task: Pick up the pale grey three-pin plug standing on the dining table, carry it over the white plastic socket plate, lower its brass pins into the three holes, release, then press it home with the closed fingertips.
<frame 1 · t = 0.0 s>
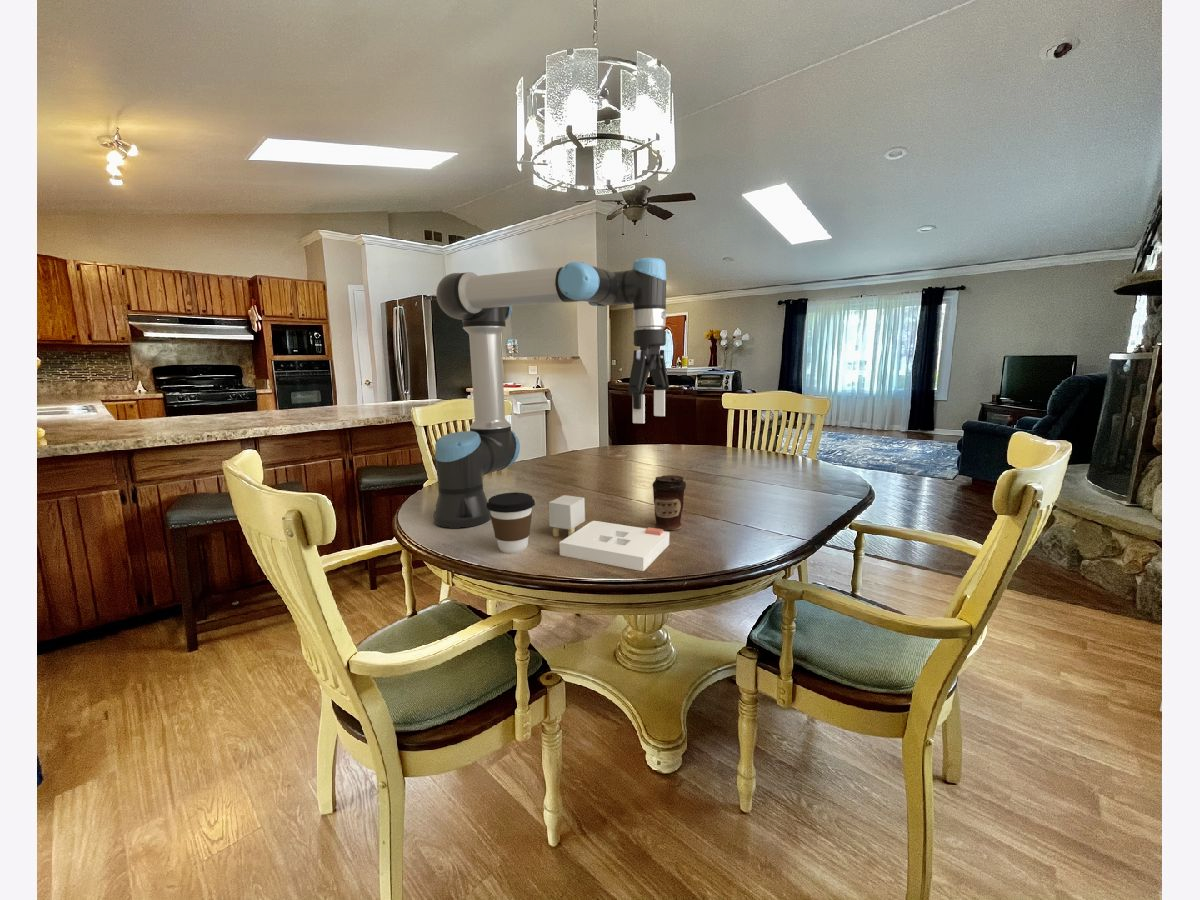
hand: (649, 419, 120), 28 cm above the table, fingers open, 13 cm apart
plug: (567, 534, 124), on the table
socket plate: (615, 549, 113), on the table
coffee cup: (668, 527, 127), on the table
coffee cup 2: (513, 549, 115), on the table
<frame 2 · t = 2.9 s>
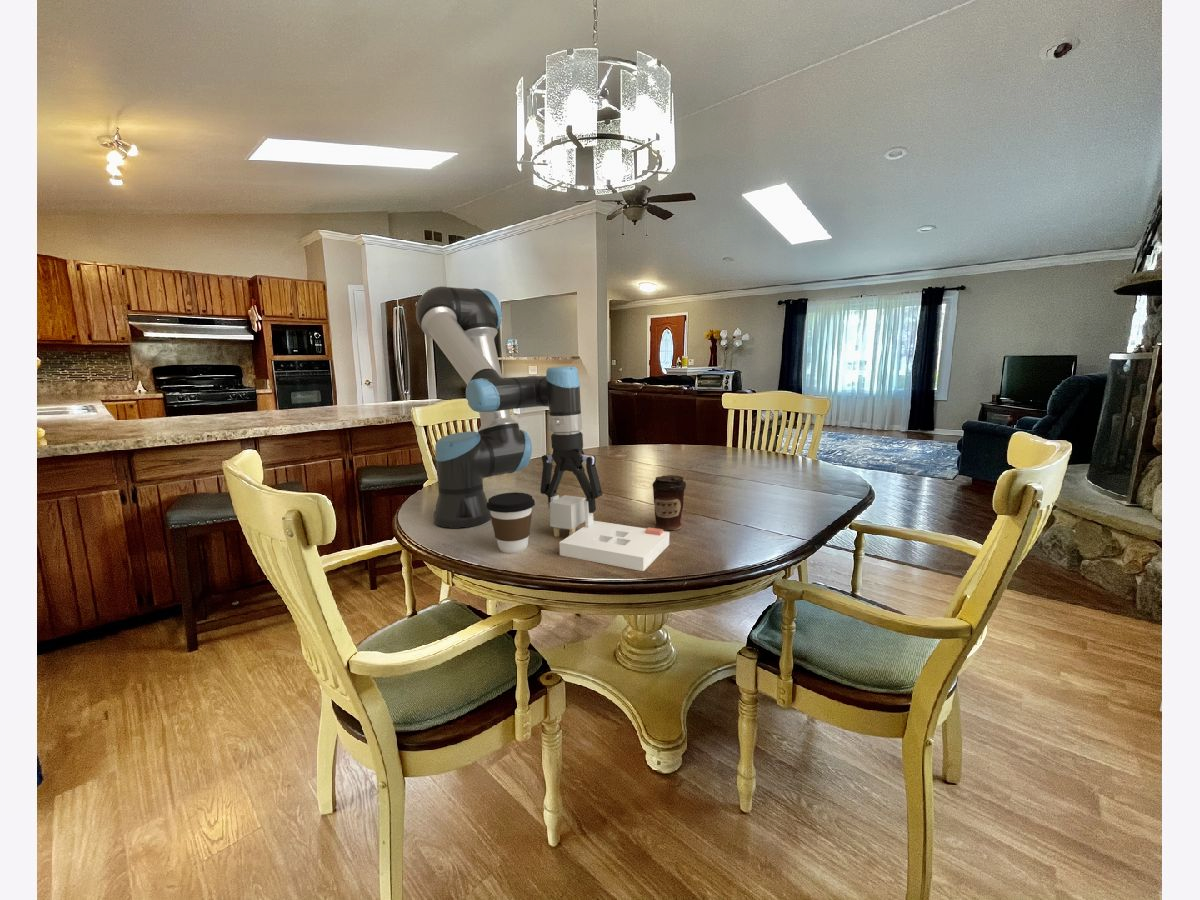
hand: (572, 523, 122), 3 cm above the table, fingers open, 9 cm apart
plug: (568, 534, 124), on the table
everything else where it was.
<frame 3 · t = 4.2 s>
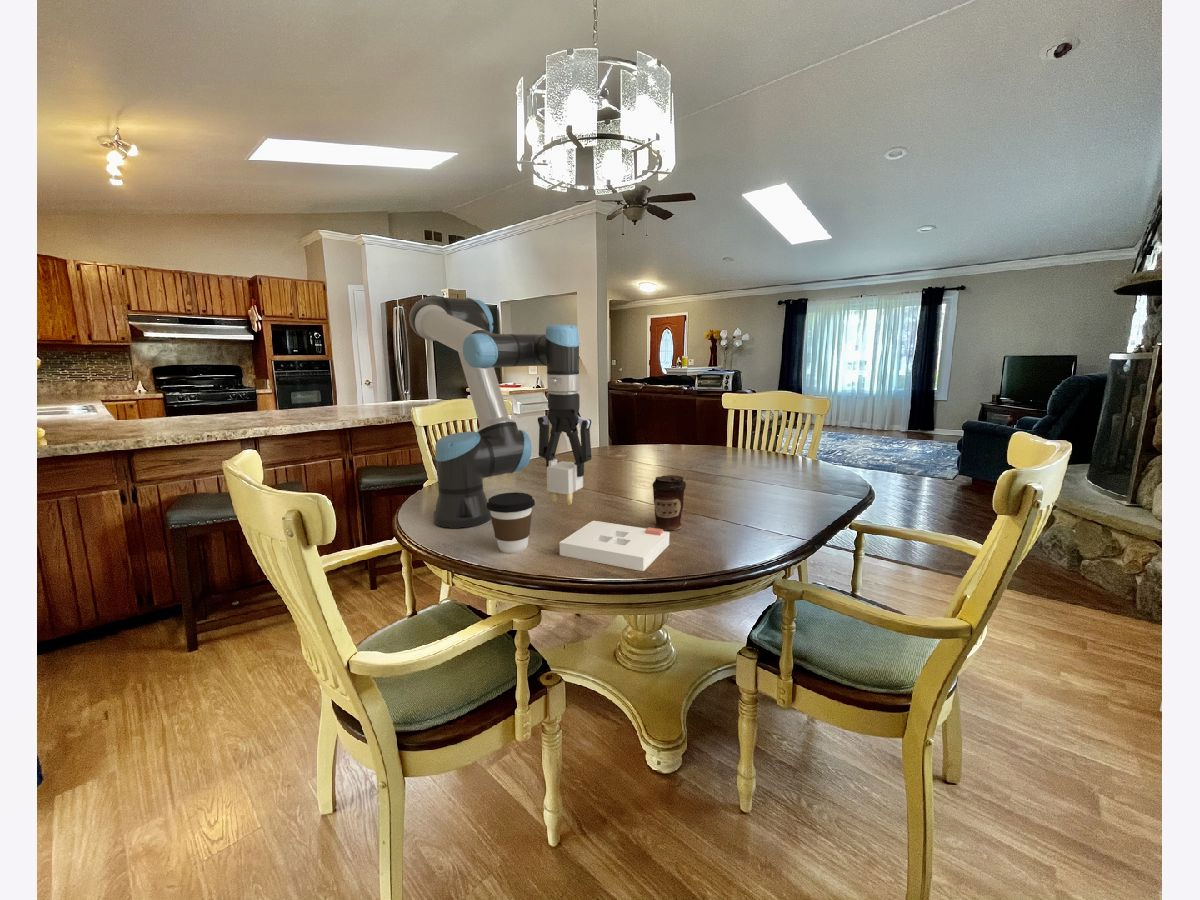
hand: (565, 487, 122), 12 cm above the table, fingers closed on plug, 6 cm apart
plug: (565, 500, 122), point 9 cm above the table, touching gripper
everything else where it was.
when the fingers open (4 cm above the table, at t = 6.9 s): plug stays where it is, resting on socket plate.
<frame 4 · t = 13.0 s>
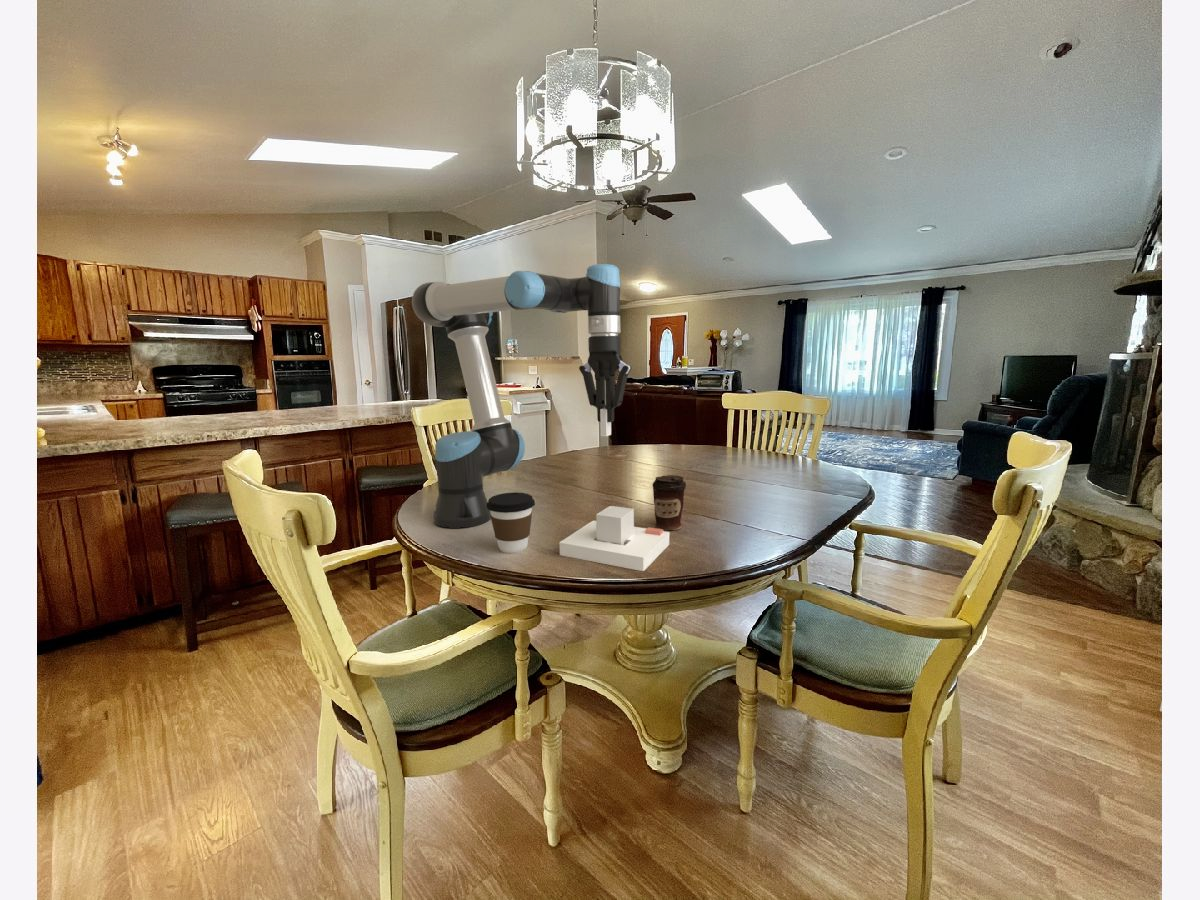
hand: (606, 435, 121), 24 cm above the table, fingers closed
plug: (615, 548, 113), resting on socket plate
everything else where it was.
at the end: plug 0.0 cm off-centre on the socket plate, point 0.2 cm above the socket plate's base; plug tilted 0°; the gripper is holding nothing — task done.
